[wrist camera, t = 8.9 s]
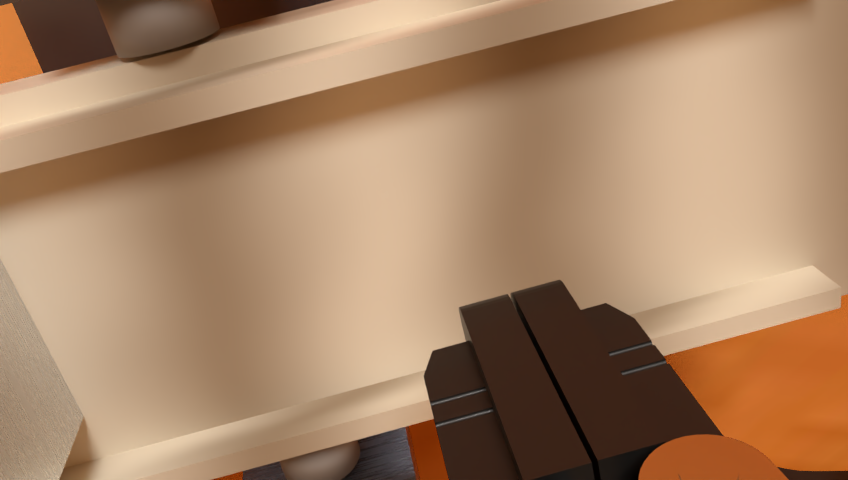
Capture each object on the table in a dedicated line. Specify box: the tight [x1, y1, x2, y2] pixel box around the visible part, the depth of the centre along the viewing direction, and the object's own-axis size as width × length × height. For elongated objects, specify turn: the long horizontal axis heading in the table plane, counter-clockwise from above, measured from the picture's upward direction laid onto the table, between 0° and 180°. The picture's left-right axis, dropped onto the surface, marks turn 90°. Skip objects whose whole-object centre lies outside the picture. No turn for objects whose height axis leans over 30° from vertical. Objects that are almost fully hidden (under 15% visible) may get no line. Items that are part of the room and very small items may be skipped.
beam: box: [0, 0, 848, 480], centre depth 15 cm, size 26×11×3 cm, turn 103°
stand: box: [0, 0, 420, 480], centre depth 19 cm, size 10×17×10 cm, turn 13°
